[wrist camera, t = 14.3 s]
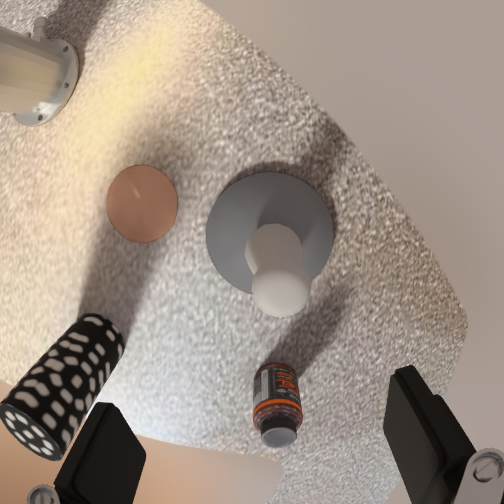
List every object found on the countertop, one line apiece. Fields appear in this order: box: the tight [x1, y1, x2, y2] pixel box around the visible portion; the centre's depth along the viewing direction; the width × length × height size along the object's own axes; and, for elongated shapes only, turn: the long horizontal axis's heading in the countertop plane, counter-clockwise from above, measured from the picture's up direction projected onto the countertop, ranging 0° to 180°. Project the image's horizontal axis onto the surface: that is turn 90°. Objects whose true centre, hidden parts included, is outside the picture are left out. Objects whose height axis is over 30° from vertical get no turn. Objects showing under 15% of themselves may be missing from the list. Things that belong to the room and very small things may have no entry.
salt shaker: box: [245, 223, 311, 317], centre depth 27 cm, size 6×6×13 cm
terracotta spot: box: [106, 165, 178, 242], centre depth 33 cm, size 9×9×1 cm
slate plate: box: [206, 172, 334, 295], centre depth 34 cm, size 14×14×1 cm
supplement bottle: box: [253, 364, 303, 448], centre depth 34 cm, size 6×6×11 cm
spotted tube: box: [0, 313, 124, 461], centre depth 29 cm, size 8×8×20 cm
